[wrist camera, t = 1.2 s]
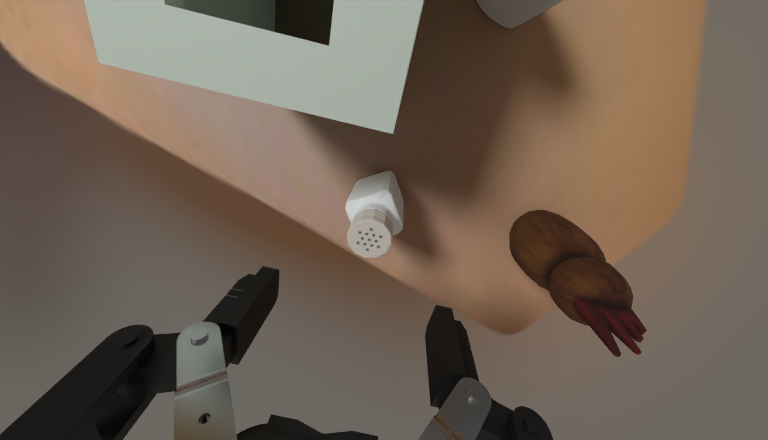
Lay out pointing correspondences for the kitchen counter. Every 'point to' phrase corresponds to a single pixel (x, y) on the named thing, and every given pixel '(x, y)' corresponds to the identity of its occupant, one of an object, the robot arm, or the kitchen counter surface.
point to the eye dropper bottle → (514, 10)
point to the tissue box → (268, 52)
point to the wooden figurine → (576, 276)
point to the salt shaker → (374, 214)
